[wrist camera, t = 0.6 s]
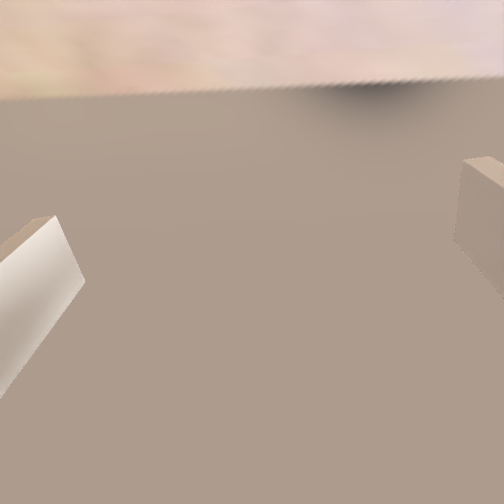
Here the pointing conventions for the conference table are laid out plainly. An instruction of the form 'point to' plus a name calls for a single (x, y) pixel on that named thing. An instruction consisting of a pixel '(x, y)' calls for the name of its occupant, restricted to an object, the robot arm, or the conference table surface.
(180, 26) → the conference table surface
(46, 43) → the conference table surface
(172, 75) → the conference table surface
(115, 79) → the conference table surface
